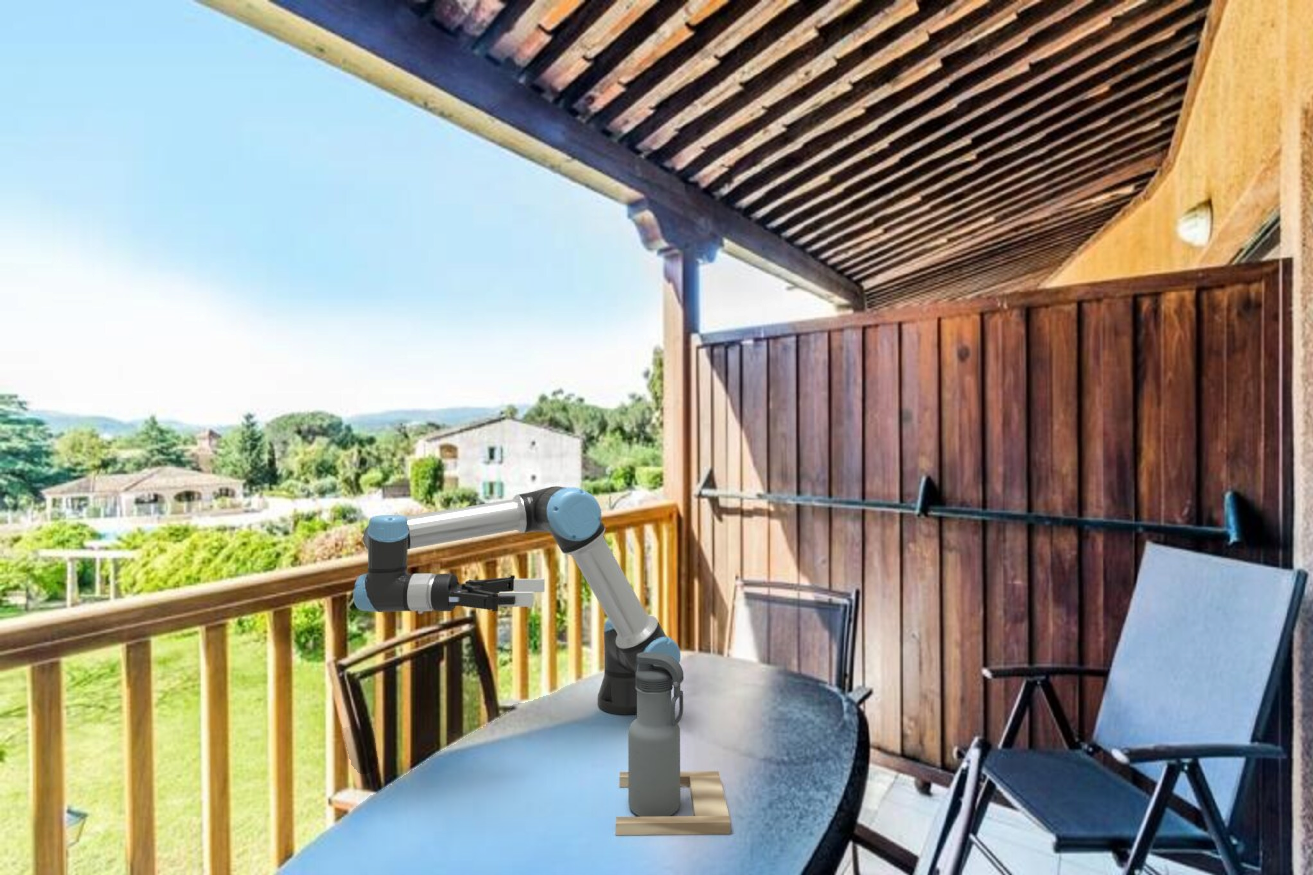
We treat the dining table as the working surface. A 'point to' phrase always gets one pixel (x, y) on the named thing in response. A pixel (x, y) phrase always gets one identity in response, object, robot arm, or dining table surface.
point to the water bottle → (655, 737)
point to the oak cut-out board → (706, 817)
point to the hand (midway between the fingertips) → (539, 591)
